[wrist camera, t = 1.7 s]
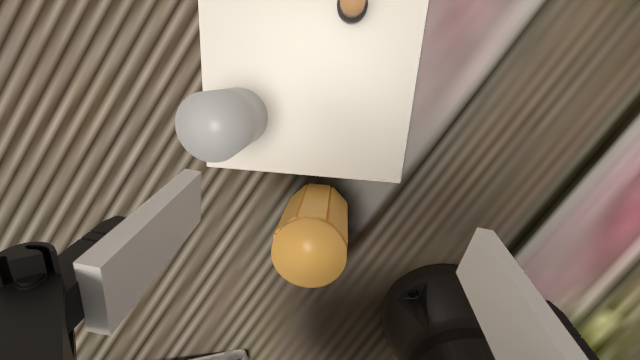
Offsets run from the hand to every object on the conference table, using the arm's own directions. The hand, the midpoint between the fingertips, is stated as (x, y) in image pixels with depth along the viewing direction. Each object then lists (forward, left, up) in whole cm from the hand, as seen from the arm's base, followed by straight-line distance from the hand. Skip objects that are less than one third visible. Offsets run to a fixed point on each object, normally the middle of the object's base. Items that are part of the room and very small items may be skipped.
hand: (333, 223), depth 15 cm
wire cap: (-9, +2, -22) cm, 24 cm away
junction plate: (+7, +4, -22) cm, 23 cm away
